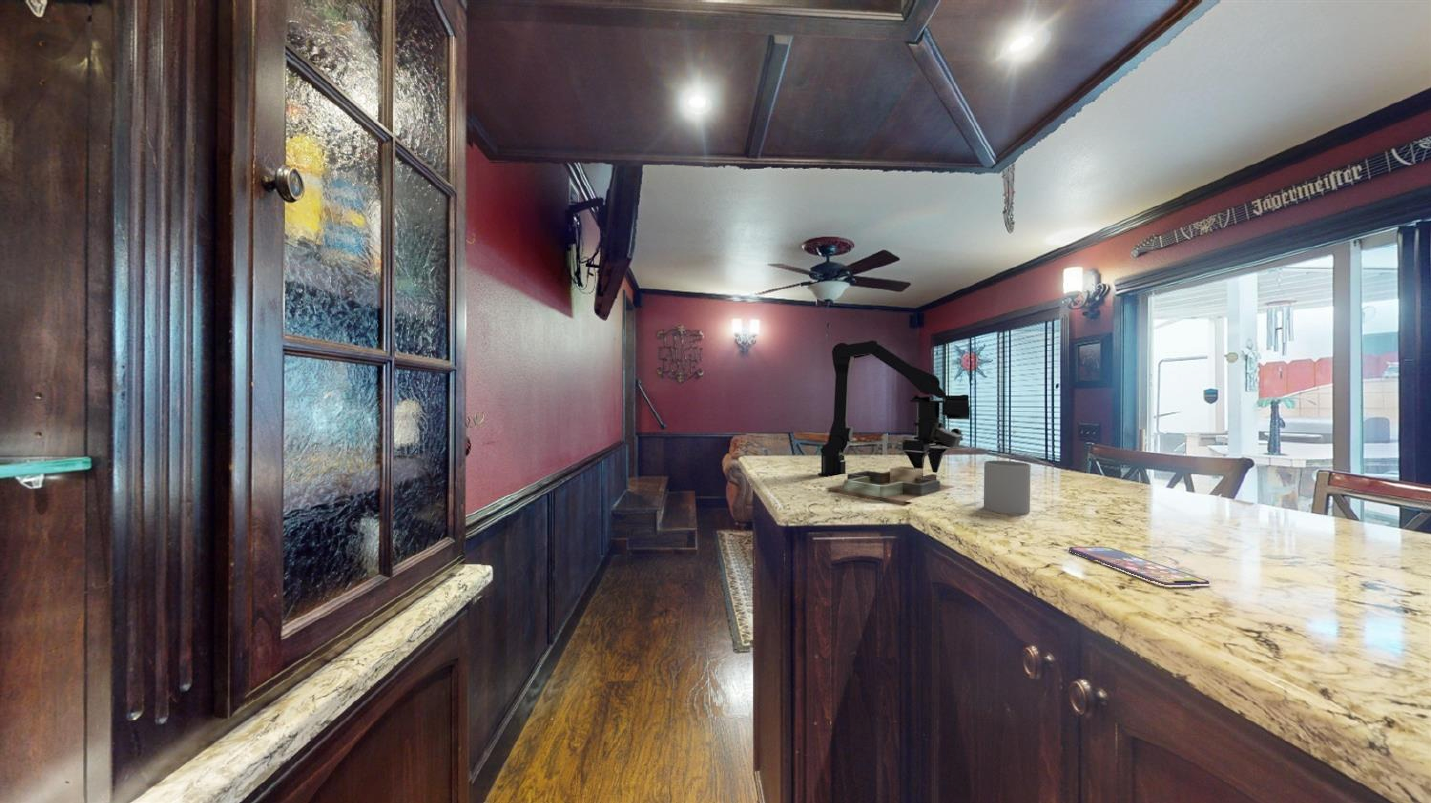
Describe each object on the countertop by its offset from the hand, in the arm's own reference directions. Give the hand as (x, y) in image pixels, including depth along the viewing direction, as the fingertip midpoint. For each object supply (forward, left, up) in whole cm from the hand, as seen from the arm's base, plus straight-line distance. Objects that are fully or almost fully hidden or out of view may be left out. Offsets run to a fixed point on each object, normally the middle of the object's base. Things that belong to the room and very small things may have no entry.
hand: (927, 474), depth 135 cm
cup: (+26, -19, -2) cm, 32 cm away
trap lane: (0, -20, -2) cm, 20 cm away
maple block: (0, -12, -1) cm, 12 cm away
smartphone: (+50, -43, -3) cm, 66 cm away
